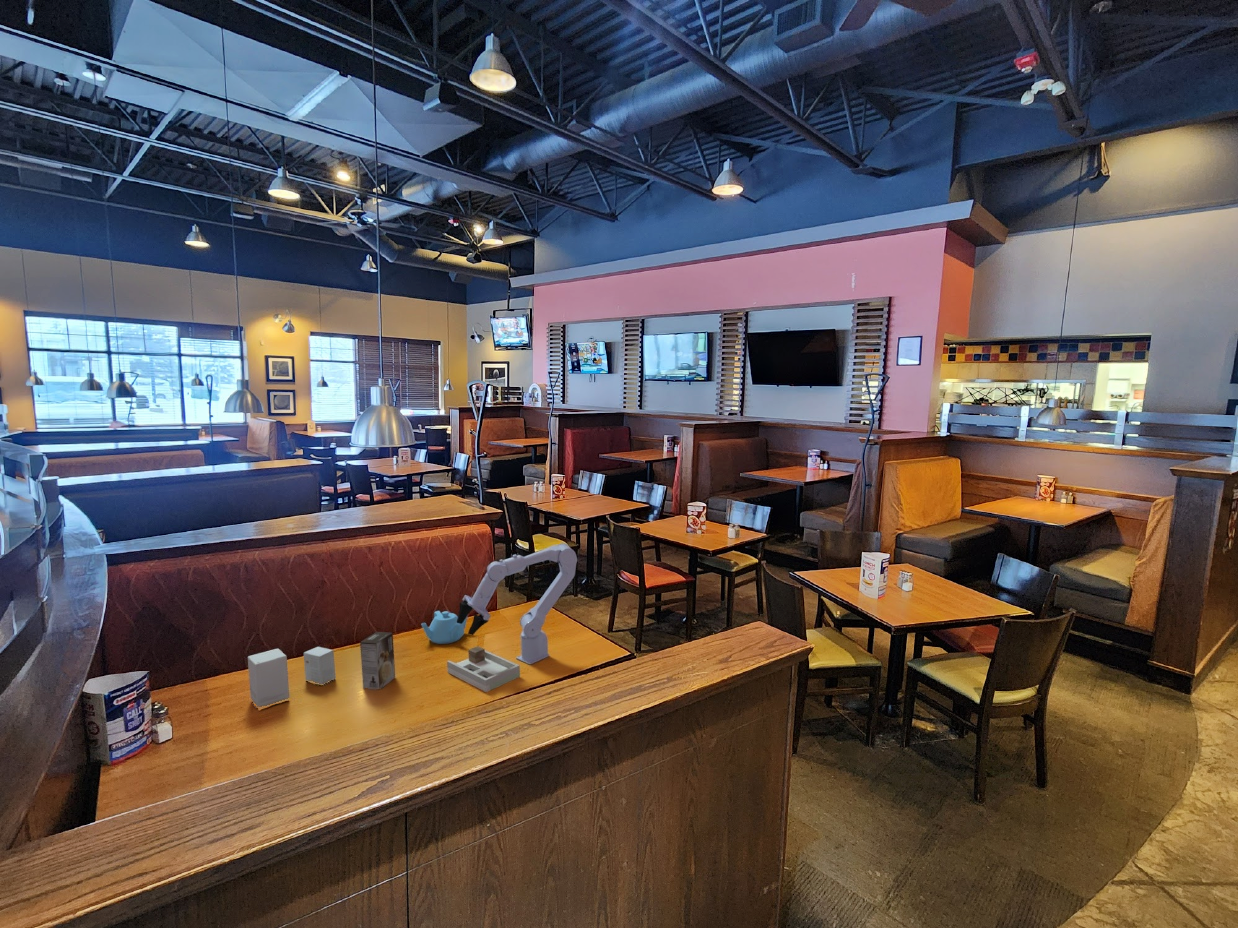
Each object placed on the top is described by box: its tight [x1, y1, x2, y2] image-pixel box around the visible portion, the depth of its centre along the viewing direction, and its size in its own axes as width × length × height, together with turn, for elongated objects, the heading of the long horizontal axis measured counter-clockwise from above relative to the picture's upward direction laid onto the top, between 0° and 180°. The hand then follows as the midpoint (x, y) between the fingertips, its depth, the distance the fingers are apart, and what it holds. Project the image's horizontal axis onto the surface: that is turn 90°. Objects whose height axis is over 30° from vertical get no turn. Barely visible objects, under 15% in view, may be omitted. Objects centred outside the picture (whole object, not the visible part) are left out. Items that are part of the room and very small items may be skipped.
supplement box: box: [247, 648, 290, 707], centre depth 181 cm, size 9×9×15 cm
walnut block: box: [467, 645, 485, 664], centre depth 205 cm, size 4×4×4 cm
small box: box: [303, 646, 337, 684], centre depth 195 cm, size 8×6×10 cm
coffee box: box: [359, 631, 396, 690], centre depth 193 cm, size 9×6×16 cm
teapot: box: [420, 610, 469, 645], centre depth 230 cm, size 15×15×11 cm
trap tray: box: [446, 650, 521, 693], centre depth 198 cm, size 14×22×4 cm, turn 49°
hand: (464, 628), depth 202 cm, fingers open, 7 cm apart
